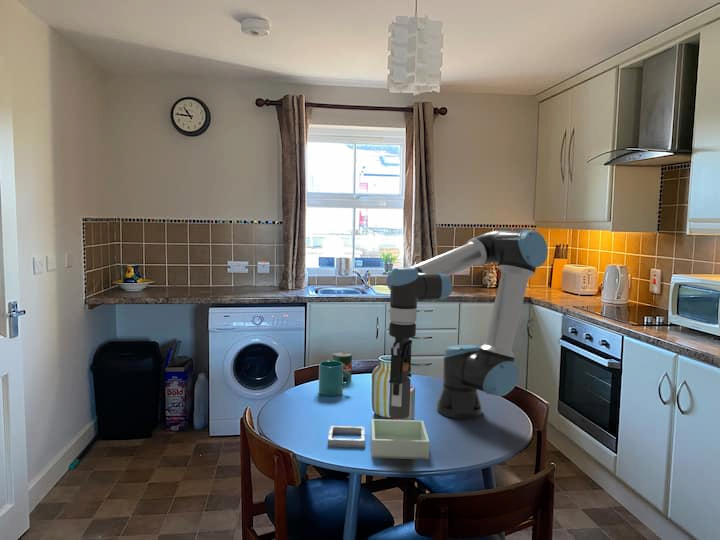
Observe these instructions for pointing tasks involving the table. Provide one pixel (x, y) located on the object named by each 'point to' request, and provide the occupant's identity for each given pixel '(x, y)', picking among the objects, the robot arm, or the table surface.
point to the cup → (332, 378)
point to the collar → (346, 442)
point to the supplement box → (412, 405)
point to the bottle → (405, 405)
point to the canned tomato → (344, 362)
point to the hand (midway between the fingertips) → (399, 402)
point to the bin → (399, 439)
